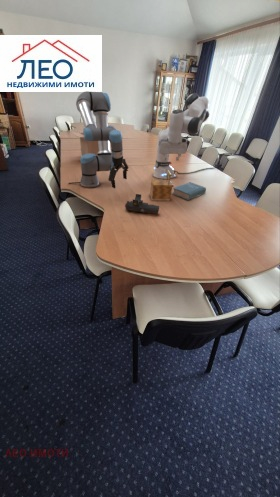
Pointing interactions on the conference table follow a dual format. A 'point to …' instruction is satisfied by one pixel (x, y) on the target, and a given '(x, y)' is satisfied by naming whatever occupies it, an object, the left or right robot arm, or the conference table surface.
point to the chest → (160, 193)
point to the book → (189, 190)
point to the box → (87, 144)
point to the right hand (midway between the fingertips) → (170, 160)
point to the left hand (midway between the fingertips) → (119, 183)
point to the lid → (163, 182)
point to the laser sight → (141, 206)
